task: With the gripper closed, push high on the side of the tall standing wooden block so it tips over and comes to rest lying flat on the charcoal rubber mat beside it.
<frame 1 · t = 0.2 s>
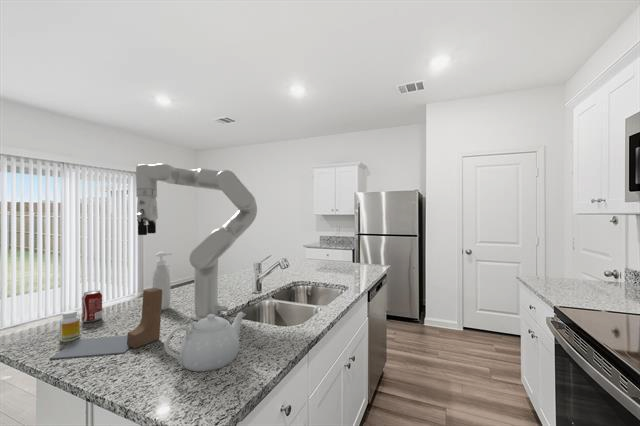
hand: (147, 234, 123), 36 cm above the worktop, tool pointing down, fingers open, 9 cm apart
supplement bottle: (70, 339, 105), on the worktop
soda can: (92, 320, 124), on the worktop
rubber mat: (100, 346, 99), on the worktop
wooden block: (143, 342, 101), on the worktop
teapot: (209, 360, 90), on the worktop
soap bottle: (163, 308, 140), on the worktop
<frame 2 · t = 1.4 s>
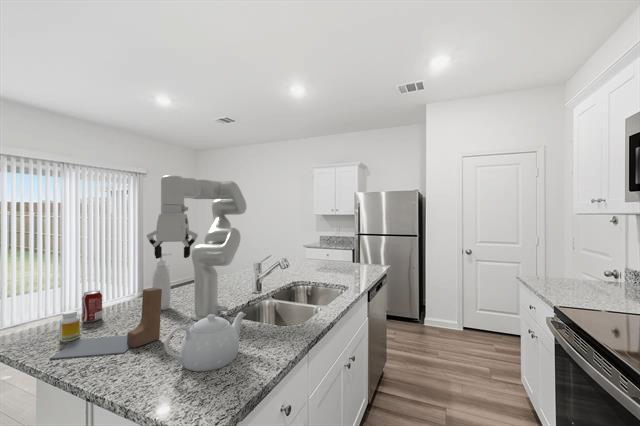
hand: (172, 257, 104), 29 cm above the worktop, tool pointing down, fingers open, 9 cm apart
wooden block: (143, 342, 101), on the worktop, touching rubber mat
everything else where it was.
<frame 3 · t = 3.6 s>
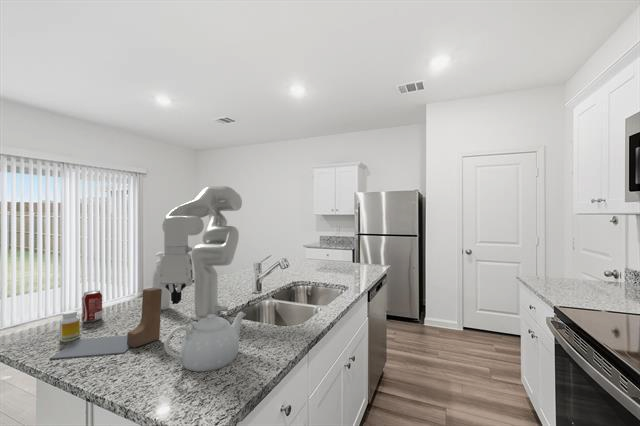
hand: (176, 302, 103), 13 cm above the worktop, tool pointing down, fingers closed
nothing on the worktop moved.
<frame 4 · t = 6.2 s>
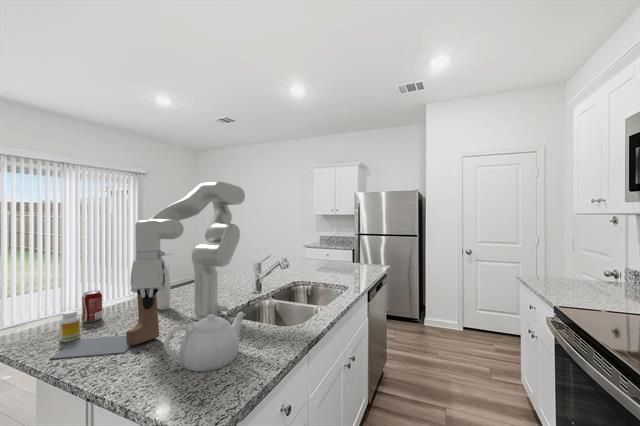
hand: (148, 307, 101), 12 cm above the worktop, tool pointing down, fingers closed
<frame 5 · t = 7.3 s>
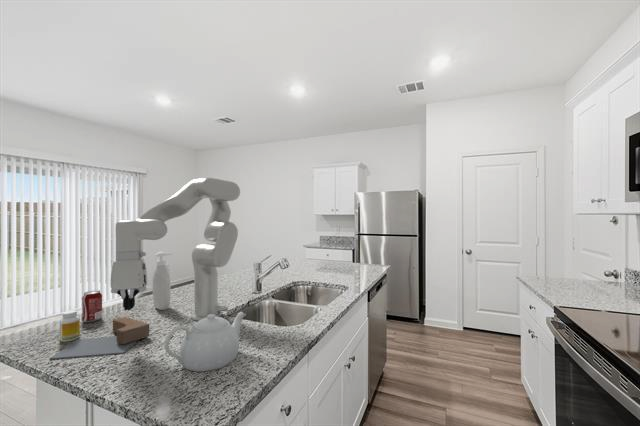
hand: (129, 308, 100), 12 cm above the worktop, tool pointing down, fingers closed
wooden block: (137, 334, 102), point 3 cm above the worktop, touching rubber mat
everything else where it was.
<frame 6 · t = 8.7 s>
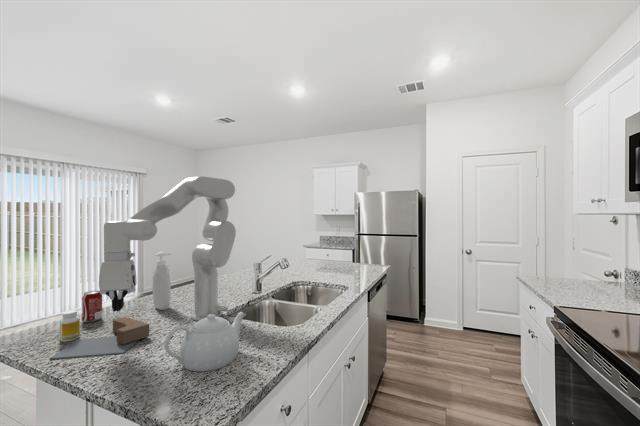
hand: (117, 309, 100), 12 cm above the worktop, tool pointing down, fingers closed
nothing on the worktop moved.
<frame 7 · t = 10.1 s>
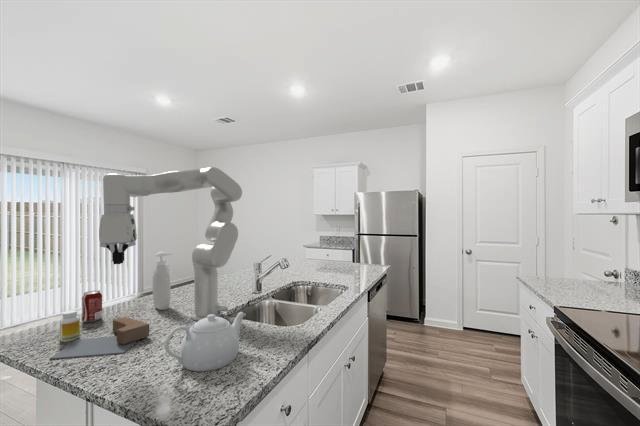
hand: (118, 263, 100), 28 cm above the worktop, tool pointing down, fingers closed
nothing on the worktop moved.
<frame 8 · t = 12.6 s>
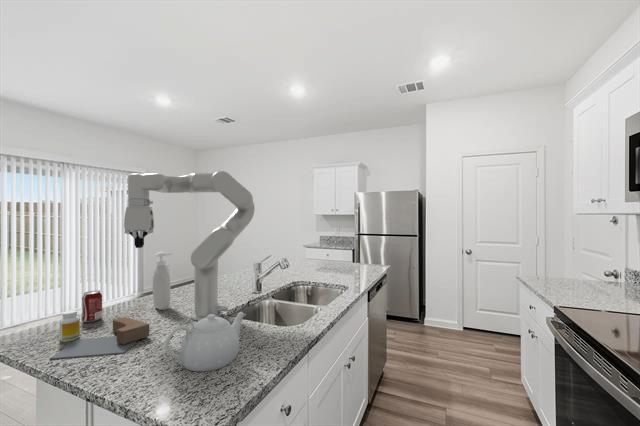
hand: (139, 247, 121), 31 cm above the worktop, tool pointing down, fingers closed
nothing on the worktop moved.
at the end: wooden block tilted 92°; wooden block inside the target area (8.6 cm from its centre), point 2.9 cm above the worktop; wooden block touching rubber mat, worktop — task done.
